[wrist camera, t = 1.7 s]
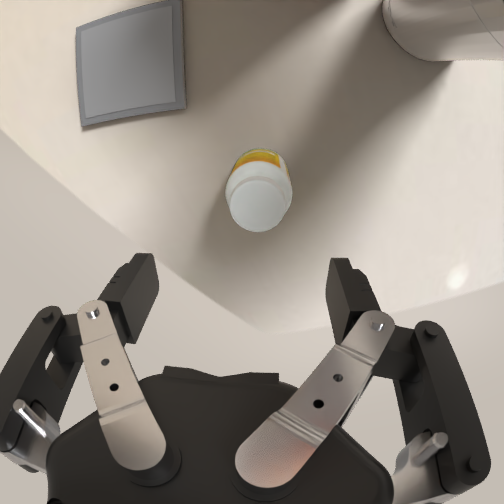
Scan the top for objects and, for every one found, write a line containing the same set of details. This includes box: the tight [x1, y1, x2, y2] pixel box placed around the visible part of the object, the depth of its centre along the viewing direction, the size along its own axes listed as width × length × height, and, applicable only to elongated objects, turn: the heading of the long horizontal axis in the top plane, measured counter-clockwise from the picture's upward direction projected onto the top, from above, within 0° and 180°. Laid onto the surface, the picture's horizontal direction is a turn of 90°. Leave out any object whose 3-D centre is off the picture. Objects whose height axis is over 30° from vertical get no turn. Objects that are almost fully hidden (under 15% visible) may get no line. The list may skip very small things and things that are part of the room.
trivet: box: [76, 0, 187, 126], centre depth 23 cm, size 12×12×1 cm
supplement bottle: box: [225, 148, 292, 232], centre depth 25 cm, size 5×5×10 cm
